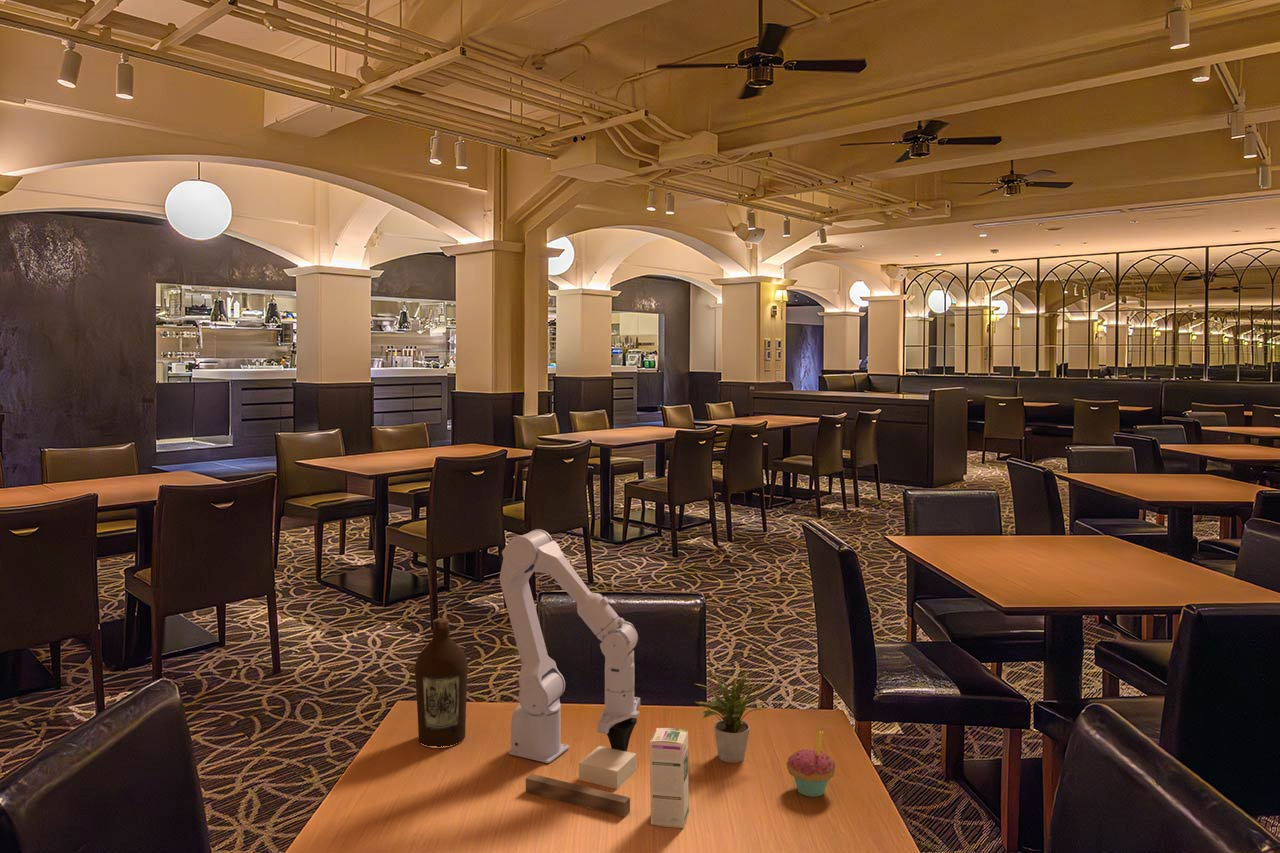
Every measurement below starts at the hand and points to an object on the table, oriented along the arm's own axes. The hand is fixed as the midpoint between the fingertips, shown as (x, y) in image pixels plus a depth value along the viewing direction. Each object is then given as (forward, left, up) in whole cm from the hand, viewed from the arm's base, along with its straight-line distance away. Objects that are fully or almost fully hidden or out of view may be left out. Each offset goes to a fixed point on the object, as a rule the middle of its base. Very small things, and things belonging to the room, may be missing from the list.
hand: (619, 756), depth 160 cm
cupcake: (+36, +5, -2) cm, 36 cm away
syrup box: (+17, -15, -2) cm, 22 cm away
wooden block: (0, -5, -2) cm, 5 cm away
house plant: (+18, +13, -2) cm, 23 cm away
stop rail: (0, -17, -1) cm, 17 cm away
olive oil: (-38, -7, -2) cm, 39 cm away
